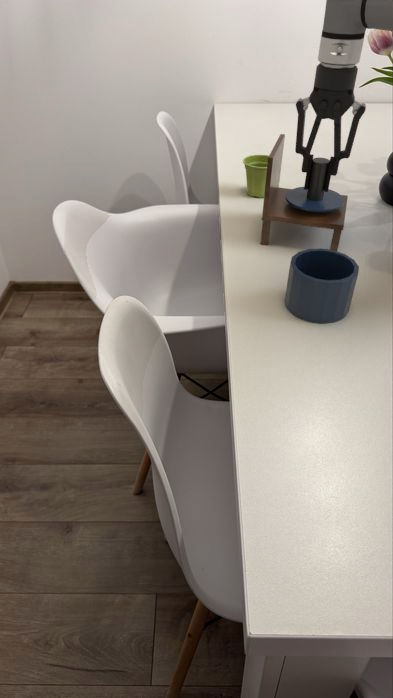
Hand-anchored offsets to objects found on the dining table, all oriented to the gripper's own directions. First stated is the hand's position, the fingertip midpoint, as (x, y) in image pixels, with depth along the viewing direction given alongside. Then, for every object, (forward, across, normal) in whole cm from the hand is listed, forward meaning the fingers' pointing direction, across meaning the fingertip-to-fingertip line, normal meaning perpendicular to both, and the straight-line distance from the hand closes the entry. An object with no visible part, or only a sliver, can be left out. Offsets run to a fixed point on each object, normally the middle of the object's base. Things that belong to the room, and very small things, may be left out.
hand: (316, 188), depth 104 cm
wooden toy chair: (+11, -1, 0) cm, 11 cm away
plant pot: (+11, -15, +20) cm, 28 cm away
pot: (+11, +5, -28) cm, 30 cm away
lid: (+3, 0, 0) cm, 3 cm away
